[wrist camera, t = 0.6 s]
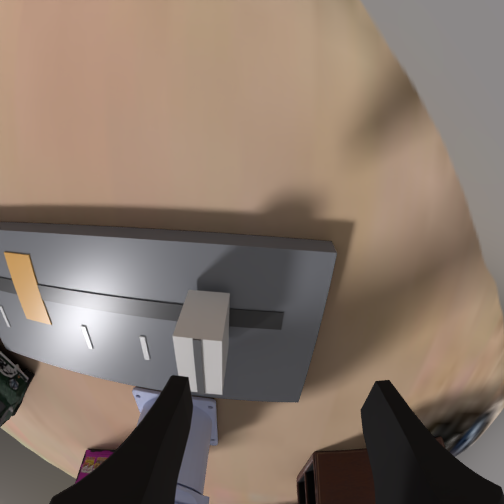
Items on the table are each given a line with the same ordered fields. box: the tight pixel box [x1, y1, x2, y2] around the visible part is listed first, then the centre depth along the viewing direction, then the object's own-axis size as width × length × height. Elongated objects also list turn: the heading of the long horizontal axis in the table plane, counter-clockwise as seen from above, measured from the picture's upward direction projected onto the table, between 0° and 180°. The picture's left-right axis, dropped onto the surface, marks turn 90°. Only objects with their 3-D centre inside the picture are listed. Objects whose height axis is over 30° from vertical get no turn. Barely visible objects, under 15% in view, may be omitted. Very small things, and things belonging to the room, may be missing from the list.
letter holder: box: [297, 436, 445, 504], centre depth 27 cm, size 10×20×14 cm, turn 84°
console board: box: [0, 222, 337, 402], centre depth 21 cm, size 14×30×2 cm, turn 86°
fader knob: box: [173, 290, 230, 395], centre depth 17 cm, size 4×2×4 cm, turn 176°
